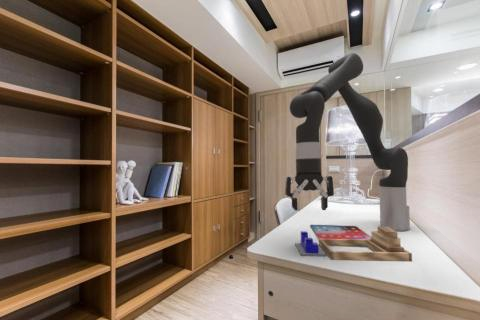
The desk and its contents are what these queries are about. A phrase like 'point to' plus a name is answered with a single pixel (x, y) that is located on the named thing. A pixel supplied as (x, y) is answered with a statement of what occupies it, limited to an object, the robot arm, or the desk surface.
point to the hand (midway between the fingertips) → (309, 209)
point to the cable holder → (308, 243)
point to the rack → (346, 255)
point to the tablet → (339, 232)
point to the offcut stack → (387, 239)
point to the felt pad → (302, 253)
